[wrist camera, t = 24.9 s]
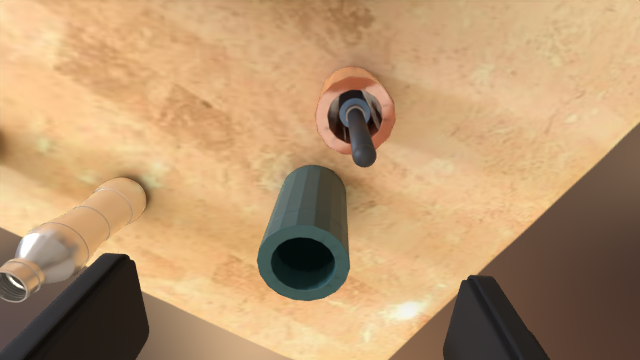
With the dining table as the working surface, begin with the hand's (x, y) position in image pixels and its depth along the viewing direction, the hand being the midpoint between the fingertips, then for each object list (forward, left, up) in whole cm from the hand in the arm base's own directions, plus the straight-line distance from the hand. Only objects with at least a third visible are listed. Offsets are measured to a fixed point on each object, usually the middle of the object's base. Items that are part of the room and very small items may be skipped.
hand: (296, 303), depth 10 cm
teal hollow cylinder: (+14, -1, -36) cm, 38 cm away
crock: (0, +3, -36) cm, 36 cm away
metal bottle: (+16, -28, -36) cm, 48 cm away
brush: (0, +3, -35) cm, 35 cm away
